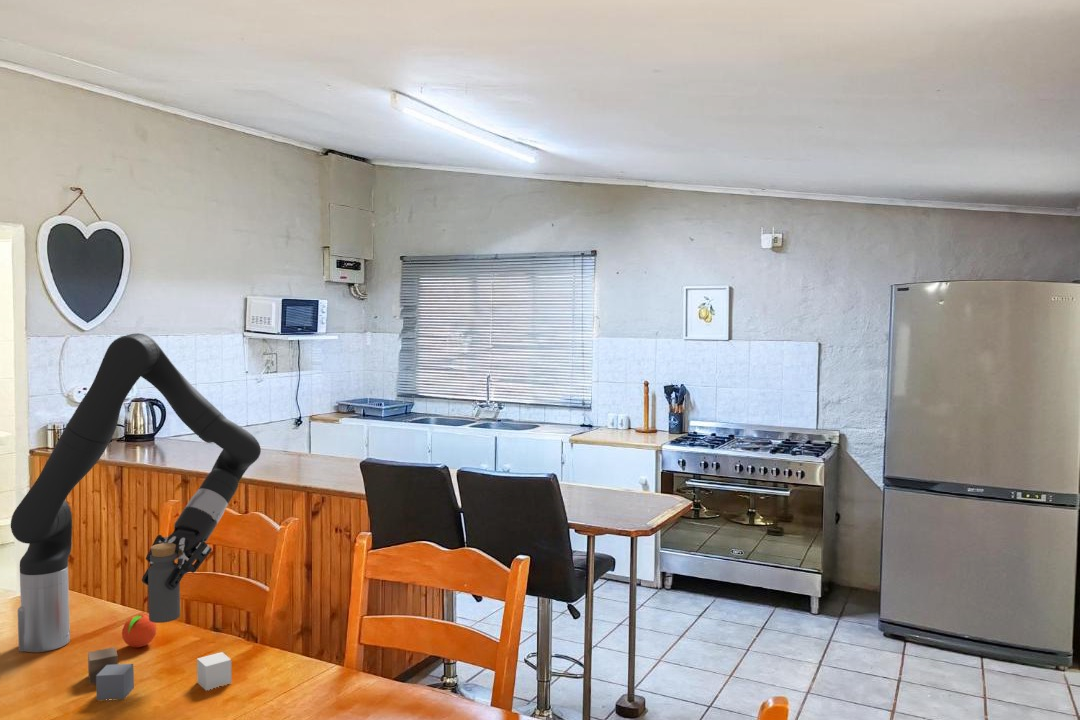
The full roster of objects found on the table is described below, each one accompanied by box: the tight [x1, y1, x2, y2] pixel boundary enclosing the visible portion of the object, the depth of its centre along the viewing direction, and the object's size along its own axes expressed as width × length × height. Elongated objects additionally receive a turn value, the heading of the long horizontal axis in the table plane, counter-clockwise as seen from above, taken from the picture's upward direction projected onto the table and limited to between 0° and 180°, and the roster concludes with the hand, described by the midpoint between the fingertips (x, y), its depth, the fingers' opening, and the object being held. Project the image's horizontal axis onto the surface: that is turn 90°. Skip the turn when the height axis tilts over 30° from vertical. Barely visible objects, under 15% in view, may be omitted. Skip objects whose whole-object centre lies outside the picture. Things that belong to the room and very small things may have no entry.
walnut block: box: [87, 646, 119, 686], centre depth 168 cm, size 5×5×5 cm
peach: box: [121, 614, 157, 648], centre depth 183 cm, size 8×7×7 cm
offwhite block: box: [196, 651, 232, 692], centre depth 165 cm, size 5×5×5 cm
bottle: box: [147, 543, 181, 624], centre depth 169 cm, size 6×6×15 cm
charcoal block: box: [95, 663, 135, 701], centre depth 160 cm, size 5×5×5 cm
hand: (157, 585), depth 167 cm, fingers closed on bottle, 5 cm apart
